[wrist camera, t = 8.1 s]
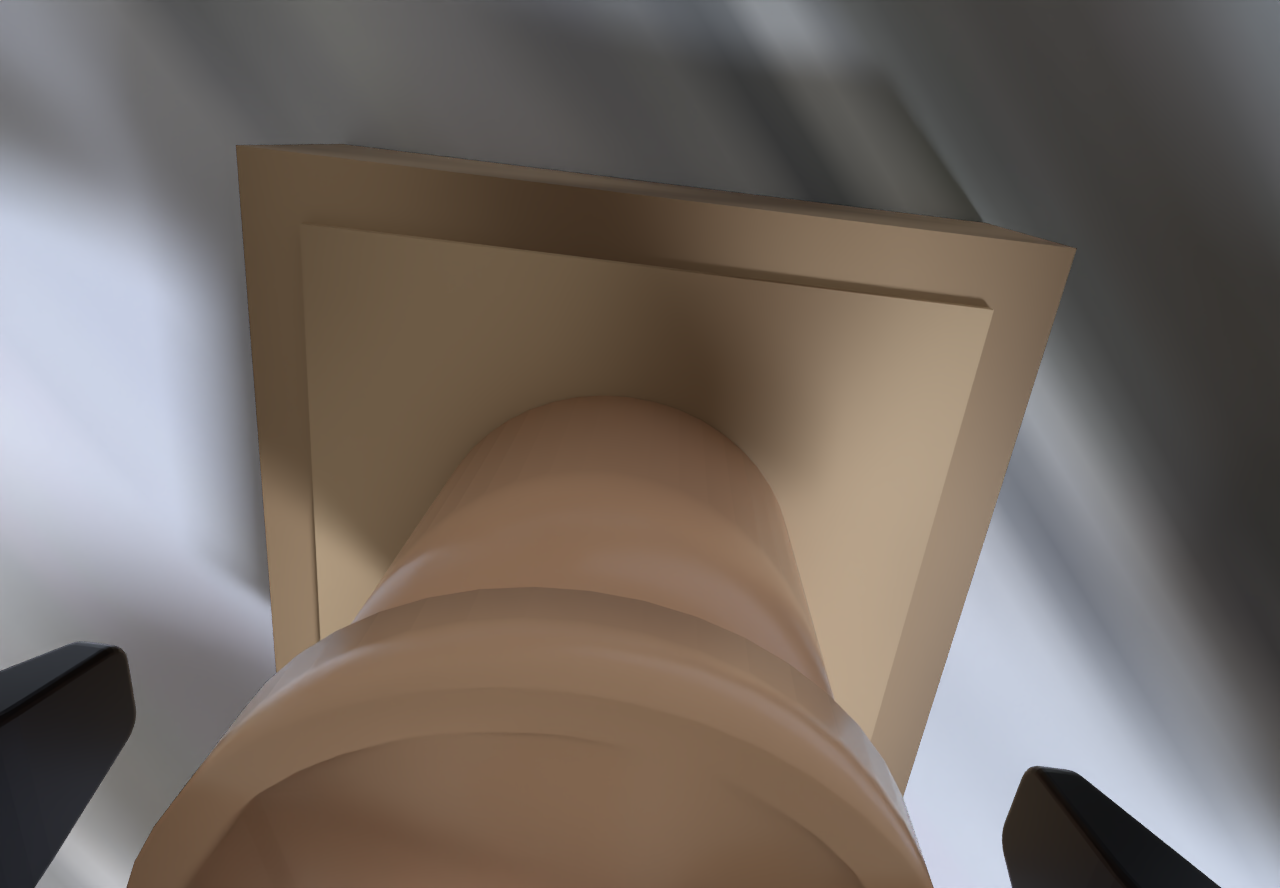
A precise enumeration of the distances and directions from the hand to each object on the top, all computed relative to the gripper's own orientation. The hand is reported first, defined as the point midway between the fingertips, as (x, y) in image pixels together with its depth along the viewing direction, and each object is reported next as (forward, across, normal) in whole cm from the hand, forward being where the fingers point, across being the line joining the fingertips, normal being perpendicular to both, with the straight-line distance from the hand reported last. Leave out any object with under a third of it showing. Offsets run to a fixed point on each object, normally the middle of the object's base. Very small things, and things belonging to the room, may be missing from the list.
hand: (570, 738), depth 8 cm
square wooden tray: (+6, 0, 0) cm, 7 cm away
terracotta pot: (+3, 0, 0) cm, 3 cm away
